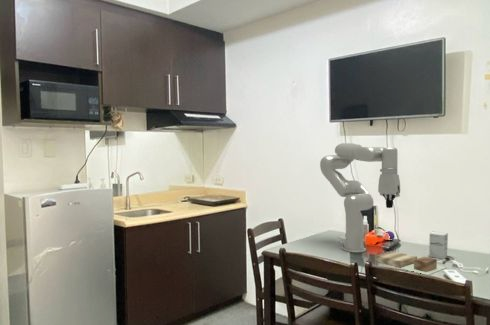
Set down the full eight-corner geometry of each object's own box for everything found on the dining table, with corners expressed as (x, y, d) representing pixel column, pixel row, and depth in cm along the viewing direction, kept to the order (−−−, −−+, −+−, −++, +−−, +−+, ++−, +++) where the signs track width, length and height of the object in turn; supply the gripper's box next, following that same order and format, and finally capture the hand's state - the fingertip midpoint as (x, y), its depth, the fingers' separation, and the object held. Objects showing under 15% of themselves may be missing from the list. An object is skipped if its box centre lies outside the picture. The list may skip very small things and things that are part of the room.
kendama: (367, 237, 234) (386, 230, 246) (369, 247, 234) (388, 239, 245) (376, 237, 229) (395, 230, 241) (378, 247, 229) (397, 239, 241)
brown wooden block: (426, 262, 177) (426, 272, 177) (436, 259, 182) (436, 268, 182) (413, 259, 182) (413, 268, 182) (424, 256, 187) (424, 265, 187)
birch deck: (376, 261, 196) (376, 255, 196) (391, 256, 204) (391, 251, 204) (401, 267, 185) (401, 261, 185) (417, 262, 193) (417, 256, 193)
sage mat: (400, 268, 183) (400, 268, 183) (420, 262, 194) (420, 261, 194) (426, 275, 173) (426, 274, 173) (446, 268, 183) (446, 267, 183)
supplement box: (428, 257, 203) (428, 233, 203) (432, 254, 209) (433, 230, 208) (444, 259, 198) (444, 235, 198) (447, 256, 204) (448, 232, 204)
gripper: (372, 171, 200) (372, 206, 201) (398, 172, 188) (398, 210, 189) (381, 170, 205) (380, 205, 205) (407, 171, 193) (407, 208, 193)
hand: (389, 207), depth 197 cm, fingers closed
